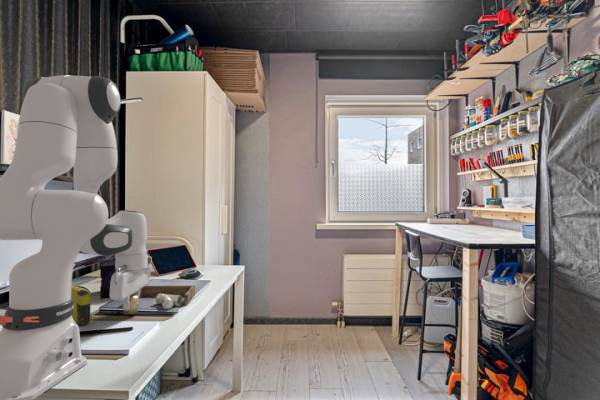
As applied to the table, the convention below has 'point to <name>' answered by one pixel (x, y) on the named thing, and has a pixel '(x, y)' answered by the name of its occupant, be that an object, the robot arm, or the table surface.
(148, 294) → the corral
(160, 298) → the pipe fitting
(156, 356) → the table surface
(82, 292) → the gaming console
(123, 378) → the table surface
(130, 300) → the brass bushing
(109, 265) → the energy cube
